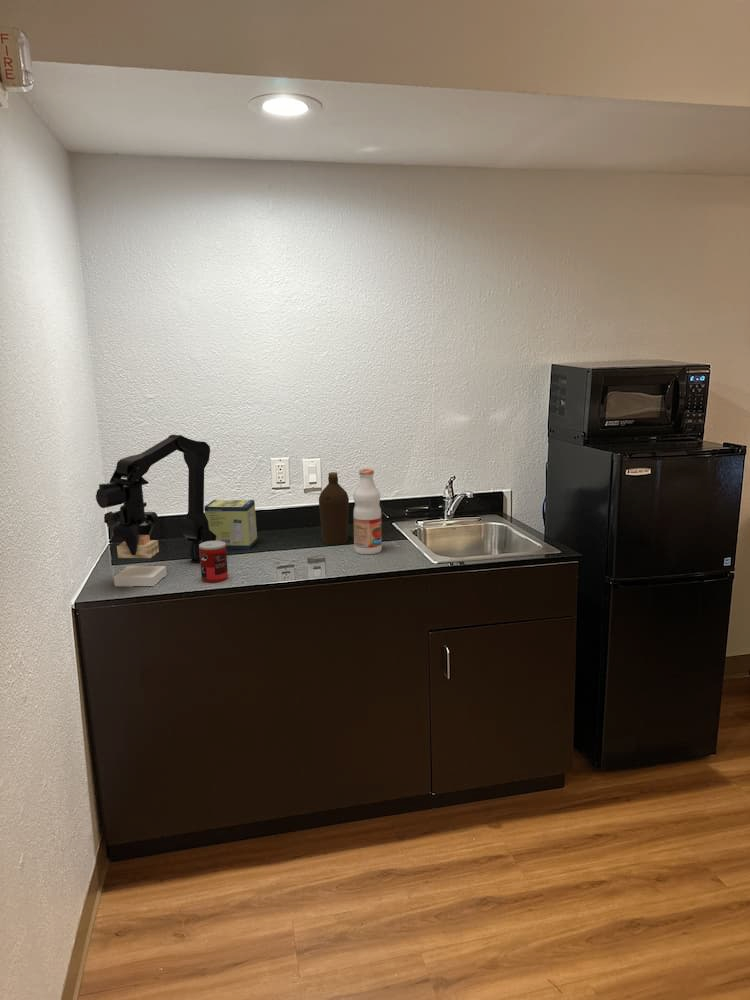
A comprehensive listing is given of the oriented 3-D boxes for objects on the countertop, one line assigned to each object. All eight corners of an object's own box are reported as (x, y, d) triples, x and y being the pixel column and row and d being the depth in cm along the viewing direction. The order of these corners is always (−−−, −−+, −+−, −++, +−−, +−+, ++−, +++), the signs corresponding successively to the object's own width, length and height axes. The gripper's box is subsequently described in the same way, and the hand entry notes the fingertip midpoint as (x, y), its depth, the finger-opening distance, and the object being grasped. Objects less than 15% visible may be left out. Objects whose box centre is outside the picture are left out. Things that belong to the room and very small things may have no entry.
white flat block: (166, 575, 211) (165, 566, 211) (153, 586, 202) (152, 577, 201) (129, 575, 213) (128, 565, 212) (114, 586, 203) (113, 576, 202)
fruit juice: (355, 546, 238) (353, 467, 232) (382, 546, 237) (381, 467, 231) (353, 554, 229) (350, 473, 222) (381, 555, 228) (379, 472, 222)
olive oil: (351, 544, 240) (349, 475, 235) (321, 546, 239) (319, 476, 233) (348, 536, 251) (346, 469, 245) (319, 538, 249) (316, 471, 243)
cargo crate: (150, 541, 206) (149, 535, 206) (144, 545, 202) (143, 538, 202) (131, 541, 207) (130, 534, 206) (125, 545, 203) (124, 538, 202)
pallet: (158, 551, 208) (157, 540, 207) (150, 558, 202) (149, 546, 201) (127, 551, 209) (126, 540, 208) (118, 557, 203) (116, 546, 202)
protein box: (216, 541, 248) (212, 499, 245) (257, 541, 247) (255, 499, 243) (206, 549, 238) (203, 506, 235) (250, 549, 237) (247, 506, 233)
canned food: (203, 575, 211) (200, 541, 209) (229, 573, 212) (227, 539, 210) (199, 583, 204) (196, 548, 201) (226, 582, 205) (224, 547, 202)
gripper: (121, 494, 211) (126, 542, 215) (91, 508, 193) (98, 561, 197) (156, 494, 210) (160, 542, 214) (129, 508, 192) (135, 561, 196)
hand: (138, 551), depth 205 cm, fingers closed on pallet, 6 cm apart
